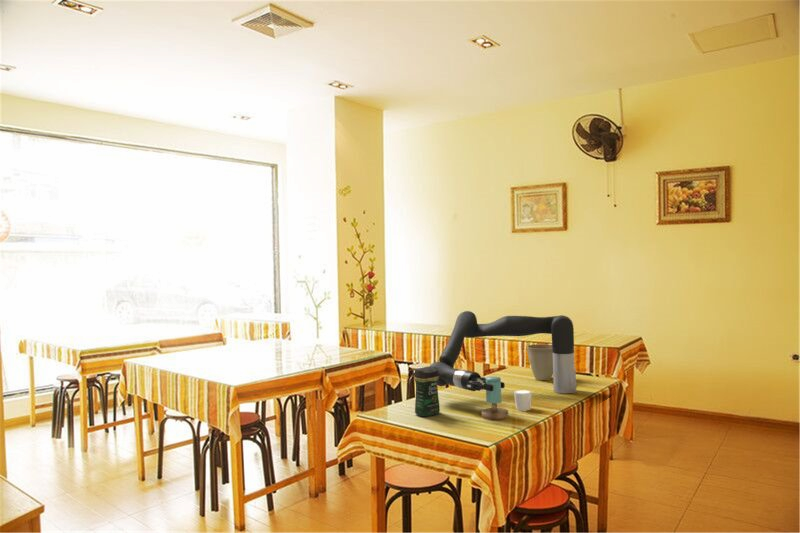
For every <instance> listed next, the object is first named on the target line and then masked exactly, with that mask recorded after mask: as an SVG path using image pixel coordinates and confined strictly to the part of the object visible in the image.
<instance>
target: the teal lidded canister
mask: <svg viewBox="0 0 800 533" xmlns="http://www.w3.org/2000/svg"><path fill="white" fill-rule="evenodd" d="M485 378H486V384H489V385H493V391H488V390H485V395H486V397H485V400H486V403H488V404H492V403H497V404H501V403H502V388H501V382H502V380H501V379H502V378H501V377H500V376H495V375H493V376H486V377H485Z"/></svg>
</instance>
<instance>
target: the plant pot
mask: <svg viewBox="0 0 800 533" xmlns="http://www.w3.org/2000/svg"><path fill="white" fill-rule="evenodd" d="M526 352H527V356H528V360H529V365H530V369H531V372H532V374H533V377H534V379H535V380H536V381H542V380H546V381H550V380H551V379H552V377H553V355H552V344H549V343H548V344H547V343H543V344H542V343H541V344H528V345H526Z"/></svg>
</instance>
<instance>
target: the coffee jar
mask: <svg viewBox="0 0 800 533" xmlns="http://www.w3.org/2000/svg"><path fill="white" fill-rule="evenodd" d="M413 376H414V377H413V379H414V382H415V403H414V414H416V415H417V416H418V417H432V416H434V415H438V414H439V413H440V412H441V410H440V400H439V399H440V397H439V392H438V391H439V390H438V388H439V386H438V385H437V383H438V378H439V375H438V369H437V368H436V367H432V366H430V365H429V366H425V367H420V368H416V369H414V375H413Z"/></svg>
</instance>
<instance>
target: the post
mask: <svg viewBox="0 0 800 533" xmlns="http://www.w3.org/2000/svg"><path fill="white" fill-rule="evenodd" d="M481 418H482V419H484V420H488V421H502V420H507V419H508V418H509V411H508V409H505V408H502V407H498V403H491V407H488V408H483V409H482V410H481Z"/></svg>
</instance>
